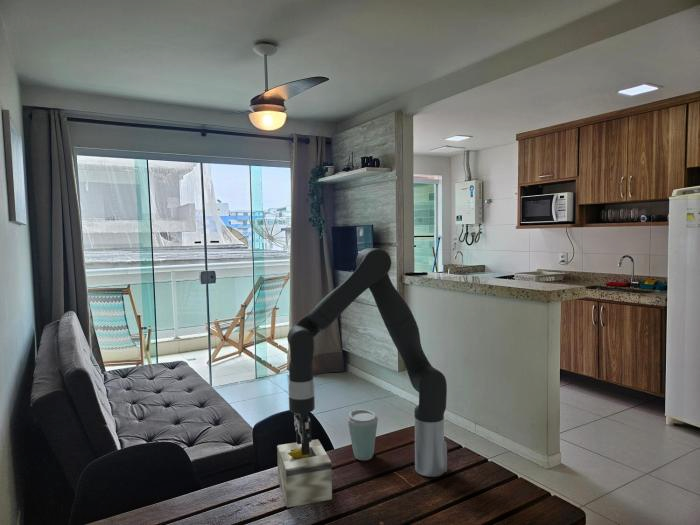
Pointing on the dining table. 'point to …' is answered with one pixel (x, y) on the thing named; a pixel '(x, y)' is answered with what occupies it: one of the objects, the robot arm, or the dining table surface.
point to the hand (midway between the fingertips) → (302, 448)
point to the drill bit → (300, 454)
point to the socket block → (304, 475)
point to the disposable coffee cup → (362, 432)
